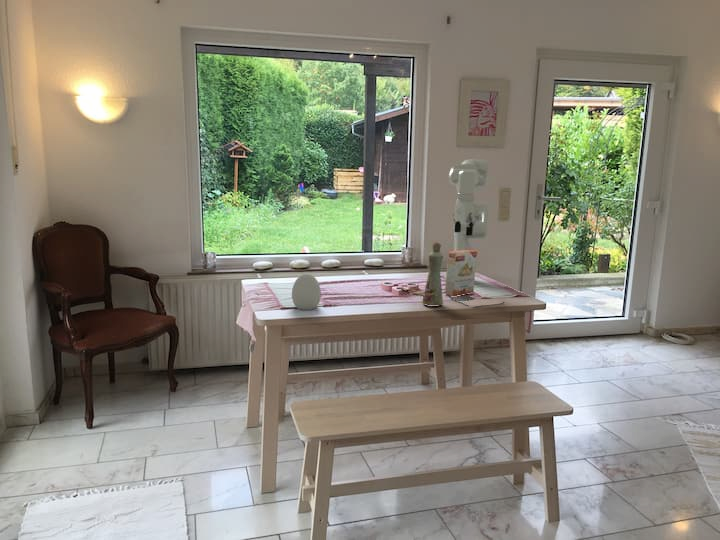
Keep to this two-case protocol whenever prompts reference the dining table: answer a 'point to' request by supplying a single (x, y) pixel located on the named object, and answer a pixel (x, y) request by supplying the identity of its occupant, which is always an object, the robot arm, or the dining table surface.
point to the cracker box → (460, 272)
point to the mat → (462, 298)
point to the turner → (417, 292)
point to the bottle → (434, 278)
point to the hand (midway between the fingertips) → (463, 233)
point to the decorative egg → (306, 292)
